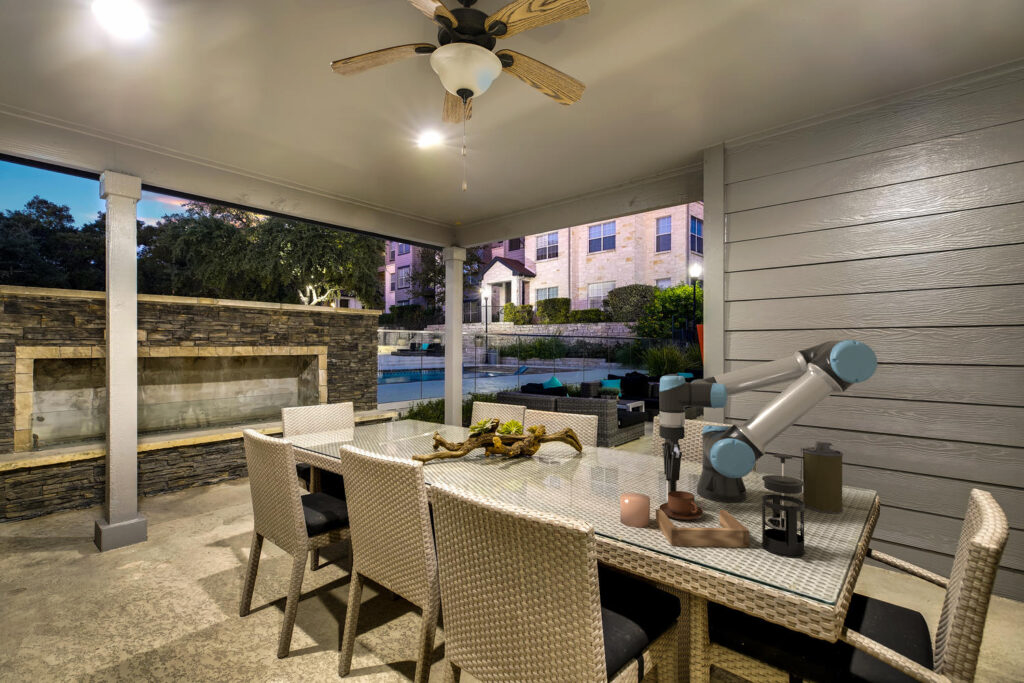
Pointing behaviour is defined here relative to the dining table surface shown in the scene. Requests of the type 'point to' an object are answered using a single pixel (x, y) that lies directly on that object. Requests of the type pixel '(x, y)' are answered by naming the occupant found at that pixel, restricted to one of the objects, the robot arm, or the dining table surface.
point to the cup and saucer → (681, 506)
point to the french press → (784, 529)
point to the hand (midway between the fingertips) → (671, 500)
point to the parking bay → (705, 532)
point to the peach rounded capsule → (635, 510)
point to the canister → (822, 478)
